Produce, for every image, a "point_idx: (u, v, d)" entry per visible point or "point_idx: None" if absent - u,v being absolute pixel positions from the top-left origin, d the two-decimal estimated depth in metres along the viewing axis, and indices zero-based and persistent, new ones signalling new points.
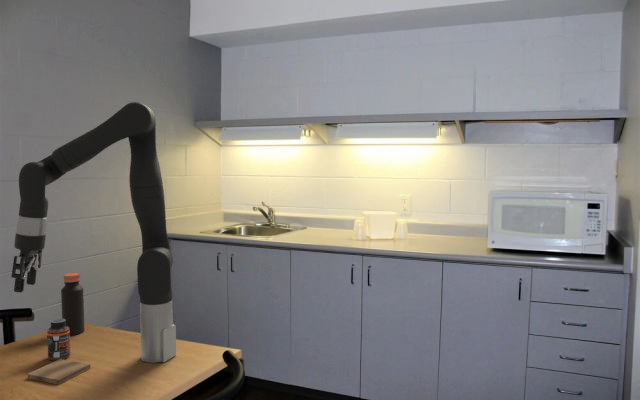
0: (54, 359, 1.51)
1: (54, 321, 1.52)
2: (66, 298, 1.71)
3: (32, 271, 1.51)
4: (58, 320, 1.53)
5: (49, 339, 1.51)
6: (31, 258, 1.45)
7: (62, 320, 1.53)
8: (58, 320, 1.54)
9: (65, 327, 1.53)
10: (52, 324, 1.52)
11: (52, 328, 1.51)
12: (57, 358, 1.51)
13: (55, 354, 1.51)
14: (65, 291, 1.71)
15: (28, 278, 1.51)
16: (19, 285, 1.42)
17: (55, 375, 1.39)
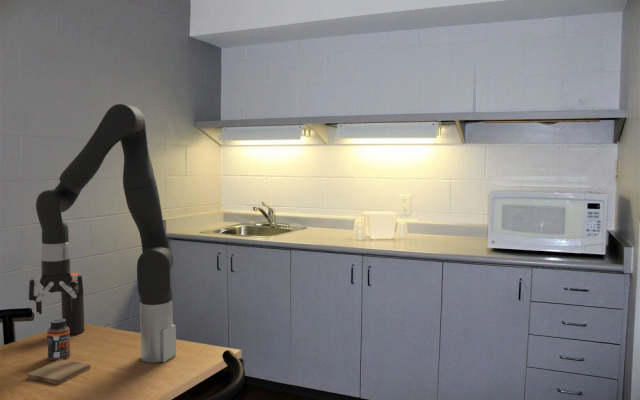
0: (54, 359, 1.51)
1: (54, 321, 1.52)
2: (66, 298, 1.71)
3: (72, 297, 1.54)
4: (58, 320, 1.53)
5: (49, 339, 1.51)
6: (49, 283, 1.50)
7: (62, 320, 1.53)
8: (58, 320, 1.54)
9: (65, 327, 1.53)
10: (52, 324, 1.52)
11: (52, 328, 1.52)
12: (57, 358, 1.51)
13: (55, 354, 1.51)
14: (65, 291, 1.71)
15: (71, 303, 1.55)
16: (36, 307, 1.50)
17: (55, 375, 1.39)
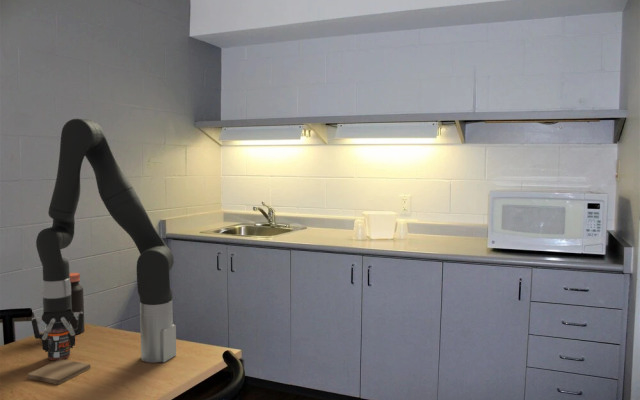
0: (54, 359, 1.51)
1: None
2: None
3: (70, 334, 1.55)
4: None
5: (49, 339, 1.51)
6: (50, 320, 1.51)
7: None
8: None
9: (65, 327, 1.53)
10: None
11: (52, 328, 1.51)
12: (57, 358, 1.51)
13: (55, 354, 1.51)
14: None
15: None
16: (42, 345, 1.51)
17: (55, 375, 1.39)
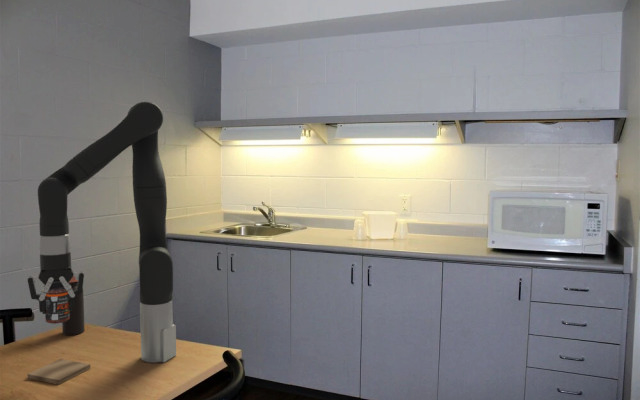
0: (52, 322, 1.39)
1: None
2: None
3: (69, 296, 1.43)
4: None
5: (47, 300, 1.39)
6: (48, 279, 1.39)
7: None
8: None
9: (64, 287, 1.41)
10: None
11: (50, 288, 1.39)
12: (55, 321, 1.39)
13: (53, 316, 1.39)
14: None
15: (69, 303, 1.44)
16: (39, 306, 1.39)
17: (55, 375, 1.39)
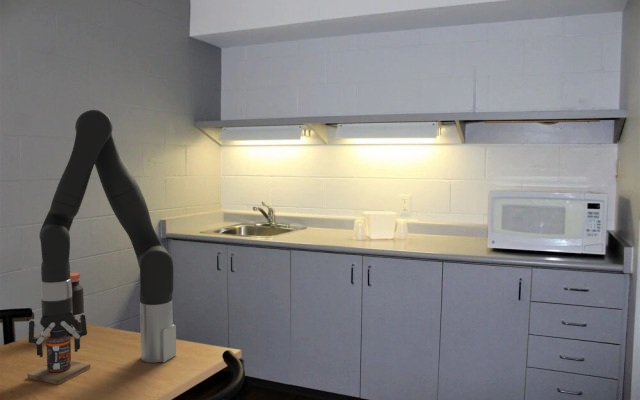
0: (54, 371, 1.40)
1: None
2: None
3: (74, 337, 1.44)
4: None
5: (48, 349, 1.40)
6: (49, 323, 1.40)
7: None
8: None
9: (66, 336, 1.42)
10: (51, 333, 1.40)
11: (52, 337, 1.40)
12: (57, 370, 1.40)
13: (55, 366, 1.40)
14: None
15: (74, 344, 1.45)
16: None
17: (55, 375, 1.39)
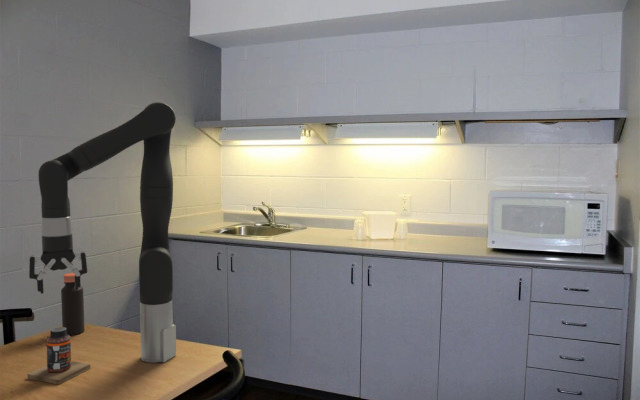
0: (54, 371, 1.40)
1: (54, 330, 1.41)
2: (66, 298, 1.71)
3: (75, 275, 1.45)
4: (59, 329, 1.42)
5: (48, 349, 1.40)
6: (50, 260, 1.40)
7: (63, 329, 1.42)
8: (58, 328, 1.42)
9: (66, 336, 1.42)
10: (52, 333, 1.40)
11: (52, 337, 1.40)
12: (57, 370, 1.40)
13: (55, 365, 1.40)
14: (65, 291, 1.71)
15: None
16: (37, 286, 1.40)
17: (55, 375, 1.39)
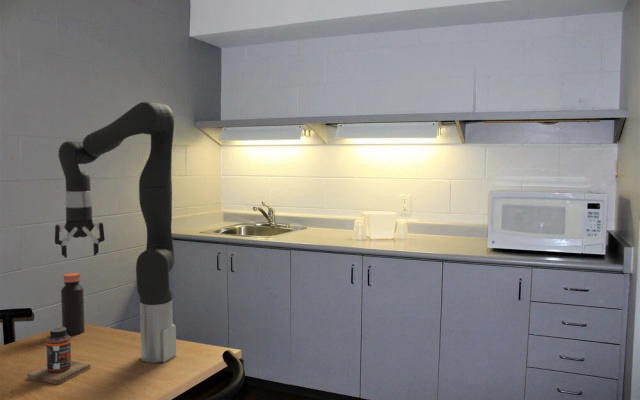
0: (54, 371, 1.40)
1: (54, 330, 1.41)
2: (66, 298, 1.71)
3: (94, 243, 1.66)
4: (59, 329, 1.42)
5: (48, 349, 1.40)
6: (73, 228, 1.61)
7: (62, 329, 1.42)
8: (58, 328, 1.42)
9: (66, 336, 1.42)
10: (51, 333, 1.40)
11: (52, 337, 1.40)
12: (57, 370, 1.40)
13: (55, 366, 1.40)
14: (65, 291, 1.71)
15: None
16: None
17: (55, 375, 1.39)
